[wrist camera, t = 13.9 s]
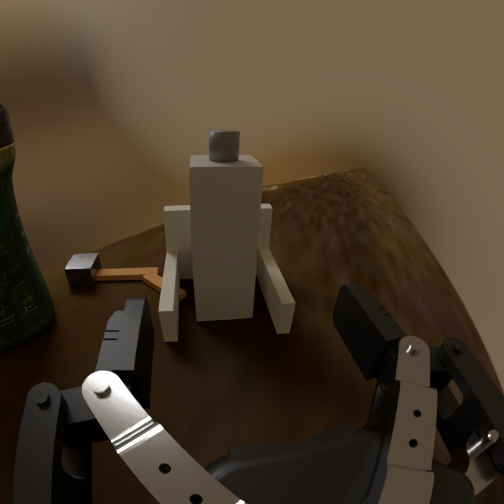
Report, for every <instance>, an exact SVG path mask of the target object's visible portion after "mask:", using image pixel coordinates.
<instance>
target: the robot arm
mask: <svg viewBox="0 0 504 504" xmlns="http://www.w3.org/2000/svg"><path fill="white" fill-rule="evenodd" d="M389 314H390V313H389V312H388V311H387V310H386V309H385V307H384V306H383V305H382V304H381V302H380V301H379V300H378V299H377V298H375V297H374V296H372V295H371V294H369V293H368V294H367V292H366V291H365V290H364V289H363V287H362V286H361V285H360V284H358V283H357V284H348V285H342V286H341V287H340V290H339V294H338V297H337V301H336V304H335V308H334V311H333V322H334V325H335V327H336V329H337V330H338V332H339V334H340V336H341V337H342V339H343V341H344V343H345V344H346V346H347V348H348V350H349V351H350V353H351V355H352V357H353V358H354V360H355V362H356V364H357V365H358V367H359V369H360V371H361V372H362V374H363V376H364V378H365V380H370V379H373V378H376V379H377V380H378V382H377V383H376V385H375V389H374V394H373V398H372V403H371V407H370V411H369V415H368V419H367V421H366V424H365V426H364V427H363V429H362V430H358V429H356V428H355V426H354V424H353V423H350V424H347V425H343V426H340V427H336V428H333V429H329V430H326V431H324V432H322V433H320V434H318V435H316V436H314V437H312V438H310V439H308V440H306V441H304V442H302V443H300V444H297V445H278V444H257V445H250V446H242V447H233V448H229V455H228V456H225V457H222V458H220V459H218V460H216V461H214V462H212V463H211V464H209V465H208V466H206V467H205V468H202V467H201V466H200V465H199V464H198V463H197V462H196V461H195V460H194V459H193V458H192V457H191V456H190V455H189V454H188V453H187V452H186V451H185V450H184V449H183V448H182V447H181V446H180V445H179V444H178V443H177V442H176V441H175V440H174V439H173V438H172V437H171V436H170V435H169V434H168V433H167V432H166V431H165V430H164V428H163V427H162V426H161V425H160V424H159V423H158V422H156V421H153V420H152V419H151V418H150V417H149V415H148V414H147V413H146V412H145V411H144V410H143V409H150V393H151V375H152V361H153V348H154V329H153V324H152V319H151V314H150V310H149V305H148V300H147V298H146V297H144V298H128V299H127V302H126V306H125V310H124V311H116V312H115V313H114V314H113V315H112V317H111V318H110V319H109V320H108V324H107V327H106V332H105V335H104V340H103V342H102V346H101V350H100V354H99V358H98V362H97V366H96V370H95V373H93V374H91V375H90V376H89V377H87V378H86V380H85V381H84V383H83V385H82V386H80V387H77V388H72V389H67V390H63V391H59V390H58V388H57V387H56V386H55V385H53V384H51V383H47V382H44V383H39V384H37V385H35V386H34V387H33V388H32V389H31V390H30V391H29V393H28V396H27V399H26V403H25V408H24V412H23V417H22V421H21V426H20V432H19V438H18V444H17V450H16V458H15V467H14V478H13V496H12V504H93V503H92V443H96V442H101V441H105V440H111V441H112V443H113V445H114V447H115V449H116V450H117V452H118V453H119V455H120V456H121V457H122V459H123V460H124V461H125V463H126V464H127V465H128V467H129V468H130V469H131V470H132V472H133V473H134V474H135V475H136V476H137V478H138V479H139V480H140V481H141V482H142V484H143V485H144V486H145V487H146V488H147V489H148V490H149V492H150V493H151V494H152V495H153V496H154V497H155V498H156V499H157V500H158V501H159V502H160V503H161V504H475V495H476V494H478V493H479V492H480V491H481V490H483V489H484V488H485V487H486V486H487V485H489V484H490V483H491V482H492V481H493V480H495V479H497V478H498V477H500V476H501V475H503V474H504V398H503V396H502V394H501V393H500V391H499V390H498V388H497V387H496V385H495V384H494V383H493V381H492V380H491V378H490V377H489V375H488V374H487V372H486V371H485V370H484V368H483V367H482V365H481V364H480V363H479V361H478V360H477V359H476V357H475V356H474V355H473V353H472V352H471V351H470V349H469V348H468V347H467V345H466V344H465V343H464V342H463V341H461V340H460V339H458V338H455V337H448V338H446V339H445V340H444V342H443V344H442V345H441V347H428V346H427V344H426V343H425V342H424V341H423V340H421V339H420V338H417V337H414V336H407V335H406V334H405V333H404V331H403V330H402V329H401V327H400V326H399V325H398V324H397V322H396V321H395V320H394V319H393V317H392V316H391V315H389ZM452 378H453V380H454V381H455V383H456V384H457V386H458V387H459V389H460V391H461V392H462V394H463V402H462V404H461V405H459V403H458V402H457V400H456V399H455V397H454V395H453V394H452V392H451V390H450V389H449V387H448V386H447V385H448V384H449V382H450V381H451V380H452ZM436 427H437V429H438V431H439V433H440V435H441V437H442V439H443V441H444V443H445V445H446V447H447V449H448V451H449V453H450V455H451V462H449V463H448V465H447V466H446V465H444V464H442V463H439V462H437V461H435V460H433V459H432V457H433V449H434V440H435V430H436Z"/></svg>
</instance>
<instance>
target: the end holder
mask: <svg viewBox="0 0 504 504" xmlns="http://www.w3.org/2000/svg"><path fill="white" fill-rule="evenodd" d="M271 219H272V207H271V206H270V204H261V211H260V224H259V238H258V252H257V265H256V276H257V279H258V281H259V284H260V287H261V290H262V293H263V296H264V298H265V301H266V304H267V307H268V310H269V312H270V315H271V318H272V321H273V324H274V327H275V329H276V332H277V334H284V333H290V329H291V324H292V319H293V314H294V308H295V301H294V299H293V297H292V295H291V293H290V291H289V289H288V286H287V284H286V282H285V280H284V278H283V276H282V274H281V272H280V270H279V268H278V266H277V264H276V262H275V260H274V258H273V256H272V254H271V252H270V250H269V241H270V230H271ZM164 224H165V236H166V248H167V255H166V261H165V268H164V274H163V281H162V288H161V296H160V304H159V316H160V321H161V326H162V331H163V336H164V341H165V342H175V341H178V316H179V297H178V293H179V287H180V279H193V263H192V244H191V219H190V205H184V206H165V208H164Z"/></svg>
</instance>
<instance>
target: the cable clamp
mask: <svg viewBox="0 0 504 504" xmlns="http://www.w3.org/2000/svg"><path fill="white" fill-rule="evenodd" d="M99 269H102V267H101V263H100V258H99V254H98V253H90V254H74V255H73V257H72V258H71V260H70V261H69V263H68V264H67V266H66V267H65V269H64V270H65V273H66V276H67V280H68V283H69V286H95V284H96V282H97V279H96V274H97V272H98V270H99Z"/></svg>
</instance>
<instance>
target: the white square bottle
mask: <svg viewBox="0 0 504 504" xmlns="http://www.w3.org/2000/svg"><path fill="white" fill-rule="evenodd" d="M239 137H240V132H239V131H231V130H214V131H210V134H209V155H191V159H190V219H191V244H192V263H193V279H194V293H195V306H196V318H197V321H212V320H228V319H242V318H253V305H254V292H255V279H256V265H257V252H258V238H259V224H260V211H261V197H262V182H263V166H262V165H261V164H260V163H259V162H257V161H256V160H255V159H254V158H253V157H252V156H251V155H239Z"/></svg>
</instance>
